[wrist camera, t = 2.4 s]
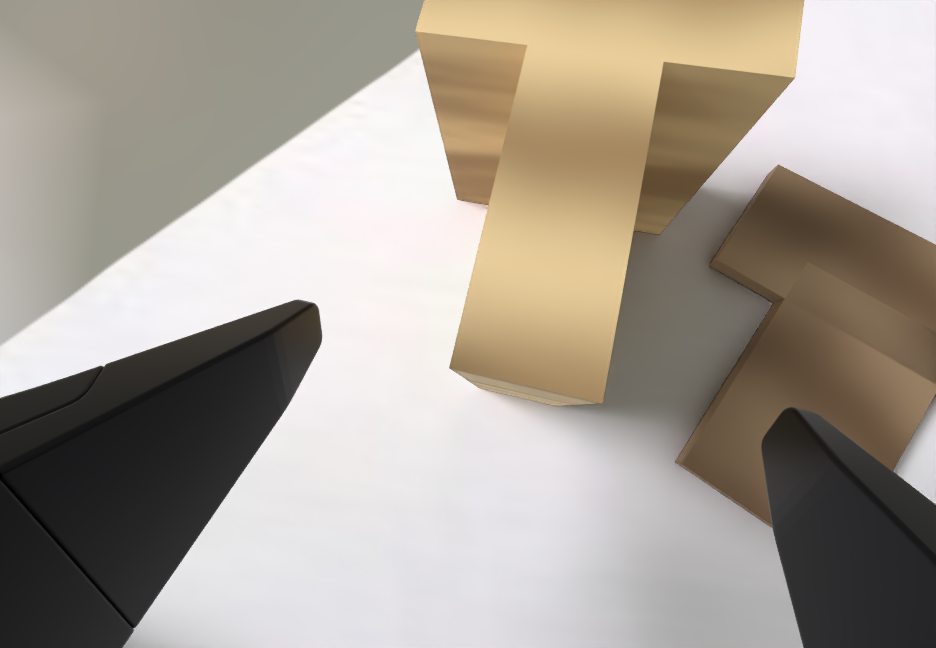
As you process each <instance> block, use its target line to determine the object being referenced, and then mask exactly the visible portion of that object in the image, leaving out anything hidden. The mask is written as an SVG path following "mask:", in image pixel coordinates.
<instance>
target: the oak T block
mask: <svg viewBox="0 0 936 648" xmlns="http://www.w3.org/2000/svg"><path fill="white" fill-rule="evenodd" d="M803 6H804V0H424V3H423V7H422V10H421V13H420V17H419V20H418V24H417V27H416V30H415V32H416V36H417V40H418V44H419V48H420V52H421V56H422V60H423V64H424V68H425V72H426V76H427V80H428V84H429V88H430V92H431V96H432V100H433V104H434V108H435V112H436V116H437V120H438V124H439V128H440V132H441V136H442V140H443V144H444V148H445V153H446V157H447V161H448V165H449V169H450V173H451V177H452V181H453V185H454V189H455V193H456V197H457V199H458V200H463V201H469V202H475V203H480V204H486V205H489V206H488V210H487V214H486V218H485V222H484V226H483V231H482V235H481V239H480V243H479V247H478V251H477V255H476V260H475V264H474V268H473V272H472V276H471V280H470V284H469V289H468V293H467V297H466V301H465V305H464V309H463V313H462V318H461V322H460V326H459V330H458V334H457V338H456V342H455V347H454V351H453V355H452V359H451V363H450V367H449V368H450V369H451V370H453V371H454V372H456V373H457V374H459V375H460V376H462V377H463V378H465V379H466V380H468V381H469V382H471V383H472V384H474V385H475V386H477V387H478V388H481V389H486V390H490V391H494V392H499V393H503V394H507V395H511V396H516V397H520V398H524V399H528V400H533V401H537V402H541V403H546V404H550V405H554V406H564V405H581V404H599V403H603V399H604V393H605V388H606V382H607V377H608V371H609V365H610V360H611V354H612V348H613V343H614V337H615V332H616V326H617V320H618V315H619V309H620V304H621V298H622V292H623V287H624V281H625V276H626V270H627V264H628V259H629V253H630V248H631V242H632V236H633V231H634V230H635V231H640V232H646V233H652V234H658V235H660V234H661V232H662V231H663V230H664V229H665V228H666V227H667V225H668V224H669V223H670V222H671V221H672V220H673V219H674V217H675V216H676V215H677V214H678V213H679V212H680V210H681V209H682V208H683V207H684V206H685V205H686V203H687V202H688V201H689V200H690V199H691V198H692V197H693V195H694V194H695V193H696V192H697V191H698V190H699V188H700V187H701V186H702V185H703V184H704V183H705V181H706V180H707V179H708V178H709V177H710V176H711V175H712V173H713V172H714V171H715V170H716V169H717V168H718V166H719V165H720V164H721V163H722V162H723V161H724V159H725V158H726V157H727V156H728V155H729V154H730V152H731V151H732V150H733V149H734V148H735V147H736V146H737V144H738V143H739V142H740V141H741V140H742V139H743V137H744V136H745V135H746V134H747V133H748V132H749V130H750V129H751V128H752V127H753V126H754V125H755V124H756V122H757V121H758V120H759V119H760V118H761V117H762V115H763V114H764V113H765V112H766V111H767V110H768V108H769V107H770V106H771V105H772V104H773V103H774V102H775V100H776V99H777V98H778V97H779V96H780V95H781V93H782V92H783V91H784V90H785V89H786V88H787V86H788V85H789V84H790V83H791V82H792V81H793V80H794V78H795V74H796V65H797V57H798V48H799V40H800V31H801V23H802V15H803Z"/></svg>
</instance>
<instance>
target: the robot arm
mask: <svg viewBox="0 0 936 648" xmlns="http://www.w3.org/2000/svg"><path fill="white" fill-rule="evenodd" d="M321 342H322V330H321V322H320V314H319V309H318V306H317V305H316V304H315V303H312V302H307V301H303V300H294V301H291V302H288V303H285V304H282V305H279V306H276V307H273V308H270V309H267V310H264V311H261V312H258V313H255V314H252V315H249V316H246V317H243V318H241V319H238V320H235V321H232V322H229V323H226V324H223V325H220V326H217V327H214V328H211V329H208V330H205V331H202V332H199V333H196V334H193V335H190V336H187V337H184V338H182V339H179V340H176V341H173V342H170V343H167V344H164V345H161V346H158V347H155V348H152V349H149V350H146V351H143V352H140V353H137V354H134V355H131V356H128V357H126V358H123V359H120V360H117V361H114V362H111V363H108V364H106V365H105V366H104V367H103V366H99V367H96V368H93V369H90V370H87V371H84V372H81V373H78V374H75V375H72V376H69V377H66V378H63V379H60V380H57V381H54V382H51V383H48V384H44V385H41V386H38V387H35V388H32V389H28V390H25V391H22V392H18V393H15V394H12V395H8V396H5V397H2V398H0V648H123V646H124V645H125V643H126V642H127V640H128V639H129V637H130V636H131V634H132V633H133V631H134V629H133V628H135V627H136V626H137V625H138V624H139V622H140V621H141V619H142V618H143V616H144V615H145V613H146V612H147V611H148V609H149V608H150V606H151V605H152V603H153V602H154V600H155V599H156V597H157V596H158V595H159V593H160V592H161V590H162V589H163V587H164V586H165V584H166V583H167V581H168V580H169V579H170V577H171V576H172V574H173V573H174V571H175V570H176V568H177V567H178V565H179V564H180V563H181V561H182V560H183V558H184V557H185V555H186V554H187V552H188V551H189V549H190V548H191V547H192V545H193V544H194V542H195V541H196V539H197V538H198V536H199V535H200V533H201V532H202V531H203V529H204V528H205V526H206V525H207V523H208V522H209V520H210V519H211V517H212V516H213V515H214V513H215V512H216V510H217V509H218V507H219V506H220V504H221V503H222V501H223V500H224V499H225V497H226V496H227V494H228V493H229V491H230V490H231V488H232V487H233V485H234V484H235V483H236V481H237V480H238V478H239V477H240V475H241V474H242V472H243V471H244V469H245V468H246V467H247V465H248V464H249V462H250V461H251V459H252V458H253V456H254V455H255V453H256V452H257V451H258V449H259V448H260V446H261V445H262V443H263V442H264V440H265V439H266V437H267V436H268V435H269V433H270V432H271V430H272V429H273V427H274V426H275V424H276V423H277V421H278V420H279V419H280V417H281V416H282V414H283V413H284V411H285V410H286V408H287V406H288V405H289V403H290V401H291V400H292V398H293V396H294V394H295V392H296V391H297V389H298V387H299V385H300V383H301V381H302V379H303V377H304V376H305V374H306V372H307V370H308V368H309V366H310V364H311V362H312V361H313V359H314V357H315V355H316V353H317V351H318V349H319V347H320V345H321ZM761 452H762V459H763V466H764V473H765V481H766V488H767V495H768V502H769V509H770V516H771V521H772V527H773V531H774V536H775V540H776V544H777V548H778V552H779V556H780V559H781V563H782V567H783V571H784V575H785V578H786V582H787V586H788V590H789V594H790V598H791V601H792V605H793V609H794V613H795V617H796V620H797V624H798V628H799V632H800V636H801V640H802V643H803V647H804V648H936V505H935V504H934V503H933V502H932V501H930V500H929V499H928V498H926V497H925V496H924V495H923V494H921V493H920V492H919V491H917V490H916V489H915V488H913V487H912V486H911V485H910V484H908V483H907V482H906V481H904V480H903V479H902V478H901V477H899V476H898V475H897V474H895V473H894V472H893V471H891V470H890V469H889V468H888V467H886V466H885V465H884V464H882V463H881V462H880V461H879V460H877V459H876V458H875V457H873V456H872V455H871V454H869V453H868V452H867V451H866V450H864V449H863V448H862V447H860V446H859V445H858V444H857V443H855V442H854V441H853V440H851V439H850V438H849V437H847V436H846V435H845V434H844V433H842V432H841V431H840V430H838V429H837V428H836V427H835V426H833V425H832V424H831V423H829V422H828V421H827V420H825V419H824V418H823V417H822V416H820V415H819V414H817V413H816V412H813V411H809V410H805V409H800V408H796V407H788V408H786V409H784V410H783V411H782V412H781V414H780V415H779V416H778V418H777V419H776V420H775V422H774V423H773V424H772V426H771V427H770V428H769V430H768V431H767V432H766V434H765V435H764V437H763V439H762V443H761Z"/></svg>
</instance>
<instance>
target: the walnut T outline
mask: <svg viewBox="0 0 936 648" xmlns="http://www.w3.org/2000/svg"><path fill="white" fill-rule="evenodd" d="M709 266H710V267H712V268H714V269H716V270H717V271H719V272H721V273H723V274H724V275H726V276H728V277H730V278H731V279H733V280H735V281H737V282H738V283H740V284H742V285H744V286H745V287H747V288H749V289H751V290H752V291H754V292H756V293H757V294H759V295H761V296H763V297H764V298H766V299H768V300H770V301H771V302H773V305H772V307H771V308H770V310H769V311H768V313H767V315H766V316H765V318H764V319H763V321H762V323H761V324H760V326H759V328H758V329H757V331H756V332H755V334H754V336H753V337H752V339H751V340H750V342H749V344H748V345H747V347H746V348H745V350H744V352H743V353H742V355H741V356H740V358H739V360H738V361H737V363H736V365H735V366H734V368H733V369H732V371H731V373H730V374H729V376H728V377H727V379H726V381H725V382H724V384H723V385H722V387H721V389H720V390H719V392H718V394H717V395H716V397H715V398H714V400H713V402H712V403H711V405H710V406H709V408H708V410H707V411H706V413H705V414H704V416H703V418H702V419H701V421H700V422H699V424H698V426H697V427H696V429H695V431H694V432H693V434H692V435H691V437H690V439H689V440H688V442H687V443H686V445H685V447H684V448H683V450H682V451H681V453H680V455H679V456H678V458H677V460H676V461H675V462H676V463H677V464H679V465H680V466H682V467H683V468H685V469H686V470H687V471H689V472H690V473H692V474H693V475H695V476H696V477H698V478H699V479H701V480H702V481H704V482H705V483H707V484H708V485H710V486H711V487H713V488H714V489H715V490H717V491H718V492H720V493H721V494H723V495H724V496H726V497H727V498H729V499H730V500H732V501H733V502H735V503H736V504H738V505H739V506H741V507H742V508H744V509H745V510H746V511H748V512H749V513H751V514H752V515H754V516H755V517H757V518H758V519H760V520H761V521H763V522H764V523H766V524H767V525H769V526H770V527H772V521H771V516H770V509H769V502H768V495H767V488H766V481H765V473H764V466H763V459H762V452H761V443H762V439H763V437H764V435H765V434H766V432H767V431H768V430H769V428H770V427H771V426H772V424H773V423H774V422H775V420H776V419H777V418H778V416H779V415H780V414H781V412H782V411H783V410H784V409H786V408H788V407H796V408H800V409H805V410H809V411H813V412H816V413H817V414H819V415H820V416H822V417H823V418H824V419H825V420H827V421H828V422H829V423H831V424H832V425H833V426H835V427H836V428H837V429H838V430H840V431H841V432H842V433H844V434H845V435H846V436H847V437H849V438H850V439H851V440H853V441H854V442H855V443H857V444H858V445H859V446H860V447H862V448H863V449H864V450H866V451H867V452H868V453H869V454H871V455H872V456H873V457H875V458H876V459H877V460H879V461H880V462H881V463H882V464H884V465H885V466H886V467H888V468H889V469H890V470H891V471H893V470H894V468H895V466H896V464H897V463H898V461H899V459H900V457H901V455H902V454H903V452H904V450H905V448H906V446H907V445H908V443H909V441H910V439H911V437H912V436H913V434H914V432H915V430H916V428H917V427H918V425H919V423H920V421H921V419H922V418H923V416H924V414H925V412H926V410H927V409H928V407H929V405H930V403H931V401H932V400H933V398H934V396H936V245H935V244H933V243H931V242H929V241H927V240H925V239H923V238H921V237H919V236H917V235H915V234H913V233H911V232H909V231H908V230H906V229H904V228H902V227H900V226H898V225H896V224H894V223H892V222H890V221H888V220H886V219H884V218H882V217H880V216H878V215H876V214H874V213H872V212H870V211H868V210H866V209H864V208H862V207H860V206H859V205H857V204H855V203H853V202H851V201H849V200H847V199H845V198H843V197H841V196H839V195H837V194H835V193H833V192H831V191H829V190H827V189H825V188H823V187H821V186H819V185H817V184H815V183H813V182H811V181H810V180H808V179H806V178H804V177H802V176H800V175H798V174H796V173H794V172H792V171H790V170H788V169H786V168H784V167H782V166H780V165H777V166H776V167H775V168H774V169H773V170H772V171H771V172H770V173H769V174H768V175H767V176H766V178H765V180H764V181H763V183H762V184H761V186H760V187H759V189H758V190H757V192H756V193H755V195H754V197H753V198H752V200H751V201H750V203H749V204H748V206H747V207H746V209H745V210H744V212H743V213H742V215H741V217H740V218H739V220H738V221H737V223H736V224H735V226H734V227H733V229H732V230H731V232H730V234H729V235H728V237H727V238H726V240H725V241H724V243H723V244H722V246H721V247H720V249H719V251H718V252H717V254H716V255H715V257H714V258H713V260H712V261H711V263H710V264H709ZM772 528H773V527H772Z"/></svg>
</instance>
